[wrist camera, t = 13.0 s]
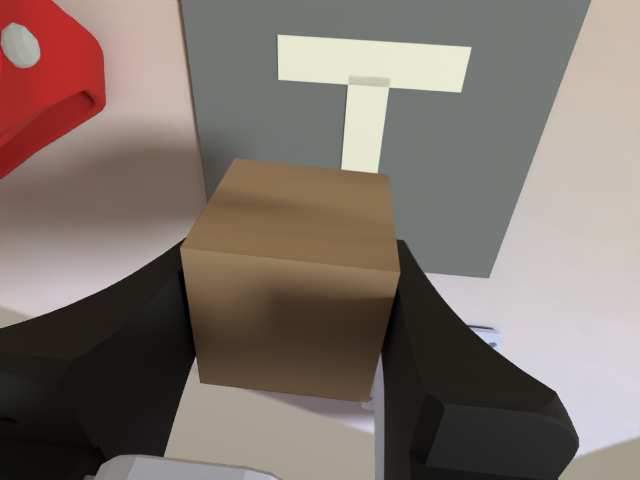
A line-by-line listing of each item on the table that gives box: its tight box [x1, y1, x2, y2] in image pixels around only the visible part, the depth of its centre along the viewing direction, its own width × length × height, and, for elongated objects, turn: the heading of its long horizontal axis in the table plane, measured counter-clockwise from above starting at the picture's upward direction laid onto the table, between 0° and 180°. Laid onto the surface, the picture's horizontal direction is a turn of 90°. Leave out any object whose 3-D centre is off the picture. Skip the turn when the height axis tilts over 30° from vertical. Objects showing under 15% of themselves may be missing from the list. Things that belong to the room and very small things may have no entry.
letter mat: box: [181, 0, 591, 278], centre depth 19 cm, size 16×16×1 cm
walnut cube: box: [180, 158, 400, 403], centre depth 13 cm, size 5×5×5 cm
